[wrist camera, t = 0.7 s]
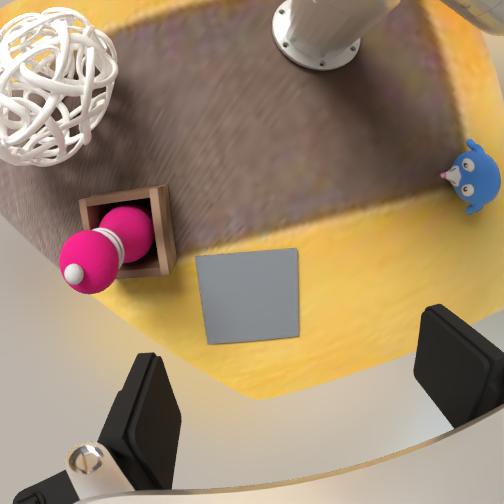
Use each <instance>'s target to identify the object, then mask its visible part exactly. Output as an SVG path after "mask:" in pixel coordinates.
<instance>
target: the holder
mask: <svg viewBox="0 0 504 504" xmlns="http://www.w3.org/2000/svg"><path fill="white" fill-rule="evenodd" d="M143 198H150V200H151V209H152V217H153V224H154V231H155V238H156V245H157V252H158V255H149V256H143V257H141V258H140V259H138V260H136V261H134V262H129V263H122V265H121V267H120V268H119V269H118V273H117V276H116V278H115V279H120V278H134V277H148V276H161V275H169V274H170V272H171V271H172V269H173V267H174V265H175V263H176V261H177V255H176V248H175V241H174V233H173V225H172V217H171V209H170V200H169V191H168V184H165V185H157V186H149V187H142V188H135V189H128V190H121V191H114V192H108V193H102V194H96V195H93V196H90V197H86V198H83V199H80V200H79V206H80V213H81V219H82V225H83V230H93V229H96V228H99V226H100V223H101V221H102V219H103V218H104V217H105V215H106V209H105V204H107V203H114V202H121V201H128V200H136V199H143Z"/></svg>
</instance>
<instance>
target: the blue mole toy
mask: <svg viewBox="0 0 504 504" xmlns="http://www.w3.org/2000/svg"><path fill="white" fill-rule="evenodd" d="M466 143H467V145H468V147H469V148H470V149H472V151H468V152H464V153H462V154H461V155H459V156H458V157H457V158H456V160H455V162H454V164H453V166H452V168H451V169H450V170H449V171H447V172H442V173H441V174H440V176H441V178H446V179H447V180H449V181H450V182H451V183H452V186H453V188H454V190H455V192H456V193H457V195H458V196H459V197H460V198H461V199H462V200H464V201H465V202H468V203H470V204H471V205H470V206H468V207H467V208H466V210H465V212H466V213H467V214H468V215H471V214H472V213H474V212H478V211H480V210H481V209H482V207H483V205H484V204H487V203H489V202H491V201H492V200H493V199H494V198H495V197H496V195H497V194H498V191H499V189H500V183H501V177H500V172H499V169H498V166H497V164H496V163H495V161H494V160H493V159H492V158H491V157H490V156H489V155H487V154H485V152H484V150H483V148H482V147H481V146H480V145H478V144H476V143H475V142H474V141H473V140H472V139H469V140H467V142H466Z"/></svg>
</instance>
